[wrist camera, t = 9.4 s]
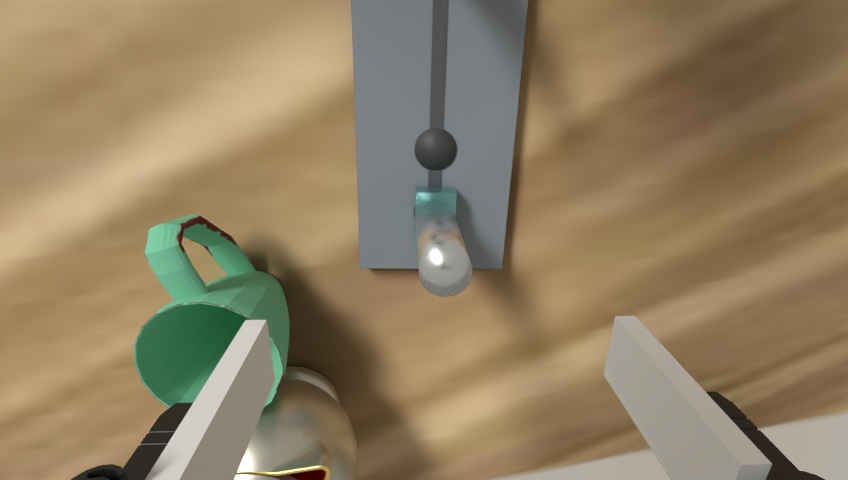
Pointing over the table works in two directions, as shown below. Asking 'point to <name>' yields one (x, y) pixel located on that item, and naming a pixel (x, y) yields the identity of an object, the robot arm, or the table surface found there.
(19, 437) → the table surface
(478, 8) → the grey and teal piece
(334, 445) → the teapot
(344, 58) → the table surface
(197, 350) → the mug
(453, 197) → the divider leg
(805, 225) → the table surface
